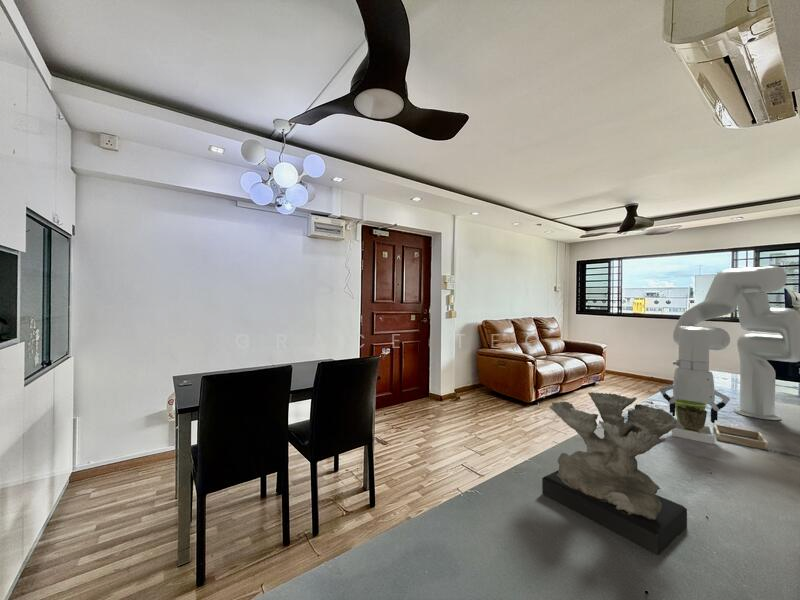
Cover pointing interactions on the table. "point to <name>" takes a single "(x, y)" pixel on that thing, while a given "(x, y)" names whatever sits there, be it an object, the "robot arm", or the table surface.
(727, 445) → the table surface
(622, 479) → the coral
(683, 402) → the plant pot
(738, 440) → the birch frame
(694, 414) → the cup
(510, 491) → the table surface
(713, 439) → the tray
